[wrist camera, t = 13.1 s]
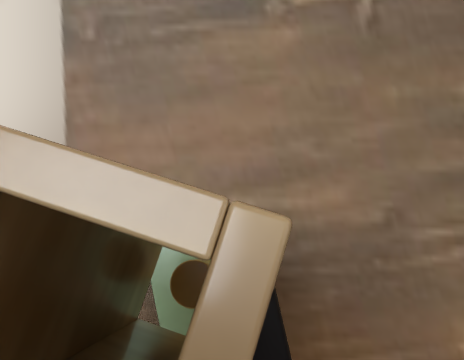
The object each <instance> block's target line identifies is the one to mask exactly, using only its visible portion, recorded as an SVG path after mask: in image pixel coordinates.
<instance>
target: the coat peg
mask: <svg viewBox="0 0 464 360" xmlns="http://www.w3.org/2000/svg"><path fill="white" fill-rule="evenodd" d="M210 261H211V260H201V259H198V258H195V257H192V256H189V255H186V254H183V253H180V252H177V251H174V250H171V249H168V248H165V247H162V250H161V253H160V256H159V259H158V261H157V264H156V267H155V270H154V273H153V276H152V278H151V285H152V290H153V295H154V300H155V305H156V310H157V315H158V320H159V325H160V327H163V328H166V329H168V330H171V331H174V332H177V333H179V334H182V335H185V336H186V334H187V331H188V328H189V325H190V322H191V318H192V315H193V312H194V309H195V306H196V303H197V300H198V297H199V294H200V291H201V288H202V285H203V282H204V279H205V276H206V273H207V270H208V267H209V264H210Z"/></svg>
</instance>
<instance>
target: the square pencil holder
mask: <svg viewBox="0 0 464 360" xmlns="http://www.w3.org/2000/svg"><path fill="white" fill-rule="evenodd" d="M291 229H292V221H291V220H290V219H289V218H288V217H287V216H284V215H281V214H278V213H275V212H272V211H268V210H265V209H262V208H259V207H256V206H253V205H250V204H246V203H243V202H240V201H234V202H232V203H231V204H230V201H229V199H228V198H226V197H225V196H222V195H219V194H216V193H213V192H210V191H206V190H203V189H200V188H197V187H194V186H191V185H188V184H184V183H181V182H178V181H175V180H172V179H169V178H166V177H162V176H159V175H156V174H153V173H150V172H147V171H144V170H140V169H137V168H134V167H131V166H128V165H125V164H121V163H118V162H115V161H112V160H109V159H106V158H103V157H99V156H96V155H93V154H90V153H87V152H84V151H81V150H77V149H74V148H71V147H68V146H65V145H62V144H59V143H55V142H52V141H49V140H46V139H43V138H40V137H37V136H33V135H30V134H27V133H24V132H21V131H18V130H14V129H11V128H8V127H5V126H2V125H0V360H253V356H254V353H255V350H256V346H257V343H258V340H259V336H260V333H261V330H262V326H263V323H264V319H265V316H266V313H267V309H268V306H269V303H270V299H271V296H272V293H273V289H274V286H275V283H276V279H277V276H278V273H279V269H280V266H281V262H282V259H283V256H284V252H285V249H286V246H287V242H288V239H289V236H290V232H291ZM162 247H165V248H168V249H171V250H174V251H177V252H180V253H183V254H186V255H189V256H192V257H195V258H198V259H201V260H211V261H210V264H209V267H208V270H207V273H206V276H205V279H204V282H203V285H202V288H201V291H200V294H199V297H198V300H197V303H196V306H195V309H194V312H193V315H192V318H191V322H190V325H189V328H188V331H187V334H186V336H185V335H182V334H179V333H177V332H174V331H171V330H168V329H166V328H163V327H160V326H157V325H155V324H152V323H149V322H146V321H144V320H141V319H137V318H138V315H139V312H140V310H141V307H142V304H143V301H144V298H145V295H146V293H147V290H148V287H149V284H150V281H151V278H152V276H153V273H154V270H155V267H156V264H157V261H158V259H159V256H160V253H161V250H162Z"/></svg>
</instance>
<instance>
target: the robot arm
mask: <svg viewBox="0 0 464 360" xmlns="http://www.w3.org/2000/svg"><path fill="white" fill-rule="evenodd" d="M253 360H292V359H291V355H290V350H289V346H288V342H287V337H286V333H285V329H284V324H283V320H282V316H281V311H280V307H279V302H278V298H277V294H276V289H275V286H274V289H273V293H272V296H271V299H270V303H269V306H268V309H267V313H266V316H265V319H264V323H263V326H262V330H261V333H260V336H259V340H258V343H257V346H256V350H255V353H254V356H253Z"/></svg>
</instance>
